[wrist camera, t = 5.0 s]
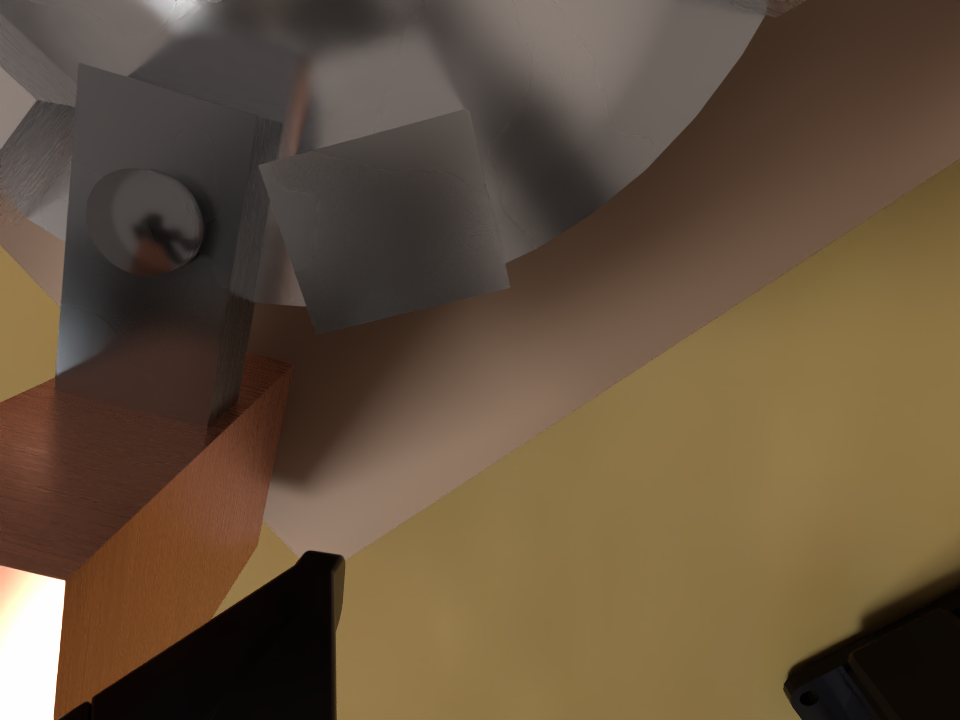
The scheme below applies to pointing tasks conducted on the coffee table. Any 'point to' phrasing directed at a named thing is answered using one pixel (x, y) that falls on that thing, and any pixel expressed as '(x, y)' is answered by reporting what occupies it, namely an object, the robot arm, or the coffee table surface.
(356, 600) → the coffee table surface
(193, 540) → the round disc with cubes
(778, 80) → the square disc baseplate
